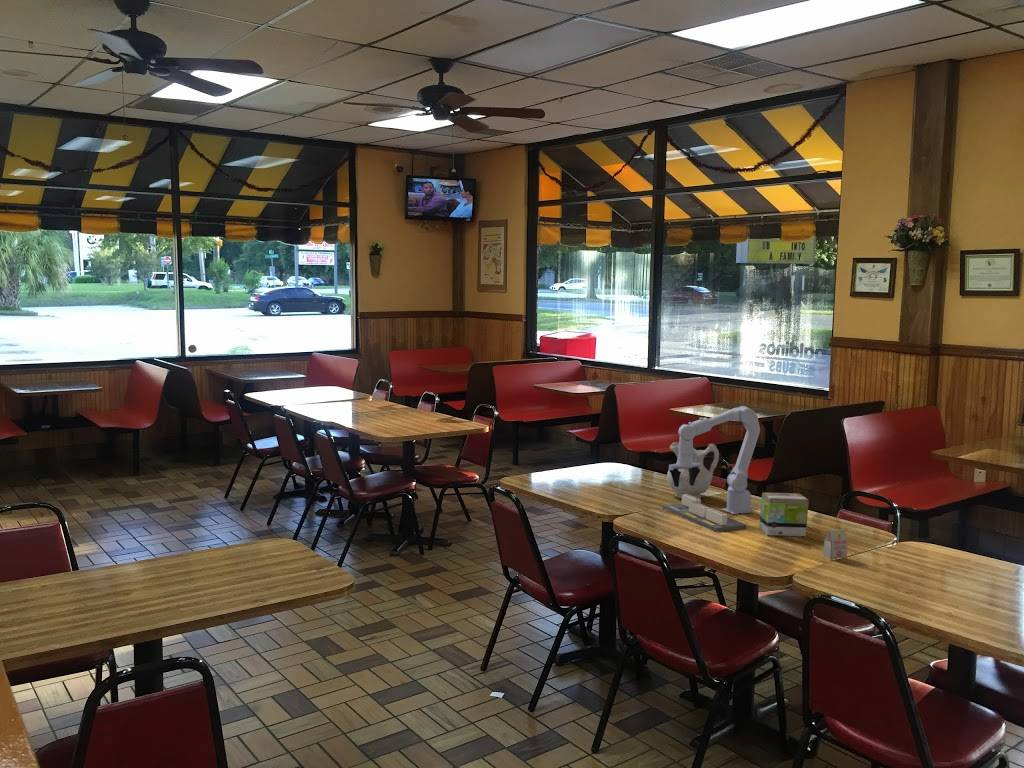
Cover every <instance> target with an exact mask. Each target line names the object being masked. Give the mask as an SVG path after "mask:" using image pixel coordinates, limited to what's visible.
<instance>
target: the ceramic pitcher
mask: <svg viewBox="0 0 1024 768" xmlns="http://www.w3.org/2000/svg"><path fill="white" fill-rule="evenodd" d="M669 451H672V452H673V453H674V454H675V456H676V458H677V459H676V463H678V454H679V442H677V441H675V442H672V443H671V444H670V445H669ZM709 453H713V461H712V462H711V464H710V468H709V469H707V468H706V467H705V465H704V458H705V456H706V455H708V454H709ZM719 458H720V453H719V449H718V448H717V445H716V443H708V444H707V448H705V449H704V450H703V449H698V450H697V449H696V448H694V447H693V453H692V463H701V468H698V469H700V472H699V473H698V475H697V477H696V480H695V483H694V486H692V485H690V484H689V470H688V469H678V470H679V471H680V472H681V474H680V478H679V486H678V487H675V486H674V482H673V478H672V475H671V473H670V471H669V469H668V471H667V475H666V479H667V484H668V485H669V487H670V489H671V490H672V491H673V492H675V494H676V495H675V497H676V498H678V499H680V498H681V500H682V495H685V494H689V495H691V496H694V497H696V498H698V499H700V500H702V499H701V497H702V496H701V494H703V493H706V491H708V489H709V488H710V486H711V482H712V479H713V475H714V470H715V469H716V468H717V465H718V463H719Z"/></svg>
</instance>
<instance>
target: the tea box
mask: <svg viewBox="0 0 1024 768" xmlns="http://www.w3.org/2000/svg"><path fill="white" fill-rule="evenodd" d="M760 501H761V503H760V511H759V512H760V514H759V530H760V531H761V532H763V533H764V534H765V536H767V535H769V536H782V537H785V536H786V537H801V536H805V537H806V535H807V527H808V513H809V501H810V500H809V499H808V498H806V497H805V496H804V495H802V494H801V493H795V492H794V493H793V492H792V493H791V492H790V493H789V492H788V493H787V492H762V493H761V500H760Z"/></svg>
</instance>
